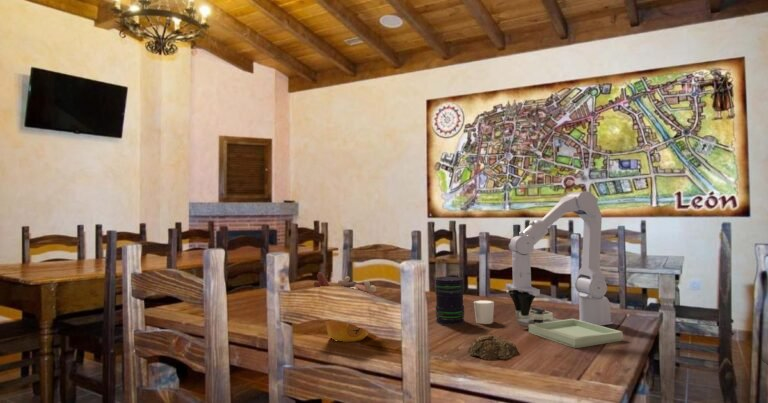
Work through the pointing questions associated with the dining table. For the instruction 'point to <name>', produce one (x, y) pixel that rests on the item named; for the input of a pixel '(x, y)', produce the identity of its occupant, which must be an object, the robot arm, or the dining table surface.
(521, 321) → the base
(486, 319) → the shot glass
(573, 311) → the dining table surface
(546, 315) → the ring
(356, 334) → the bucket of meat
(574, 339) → the tray
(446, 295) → the storage jar
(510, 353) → the brown lumpy mound
